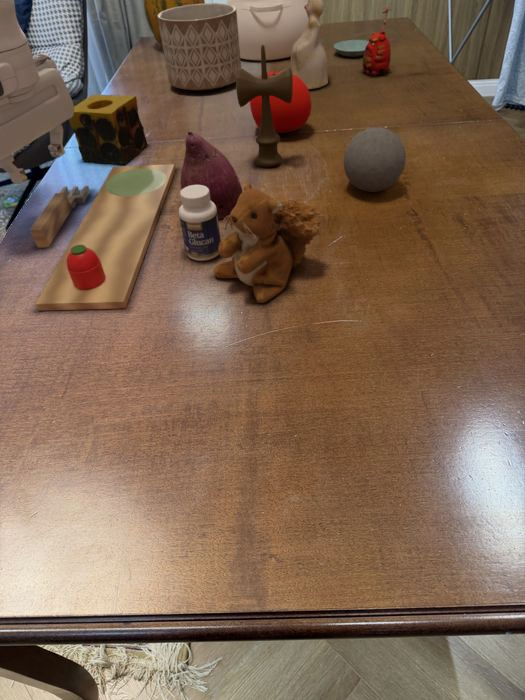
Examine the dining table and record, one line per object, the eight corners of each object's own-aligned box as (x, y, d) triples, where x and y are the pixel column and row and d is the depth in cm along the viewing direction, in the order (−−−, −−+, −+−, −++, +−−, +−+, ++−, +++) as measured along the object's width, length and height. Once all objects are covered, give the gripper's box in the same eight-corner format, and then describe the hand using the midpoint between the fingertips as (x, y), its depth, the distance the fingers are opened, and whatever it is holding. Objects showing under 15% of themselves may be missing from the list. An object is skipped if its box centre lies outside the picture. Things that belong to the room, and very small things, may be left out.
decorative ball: (413, 191, 85) (423, 131, 78) (366, 208, 82) (371, 147, 75) (376, 170, 91) (381, 113, 84) (330, 185, 88) (333, 127, 81)
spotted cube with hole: (148, 145, 106) (137, 95, 99) (125, 166, 100) (112, 113, 93) (106, 142, 109) (93, 93, 102) (81, 162, 102) (65, 110, 95)
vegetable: (210, 243, 83) (183, 169, 70) (175, 213, 88) (144, 140, 75) (258, 207, 85) (240, 130, 73) (222, 180, 90) (199, 104, 78)
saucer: (381, 56, 143) (381, 47, 142) (342, 61, 142) (342, 52, 140) (364, 46, 152) (364, 37, 150) (327, 51, 150) (327, 43, 148)
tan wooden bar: (58, 246, 79) (51, 229, 77) (27, 248, 79) (19, 230, 77) (91, 191, 92) (85, 175, 90) (64, 192, 93) (58, 176, 90)
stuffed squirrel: (208, 277, 71) (194, 189, 62) (286, 240, 76) (283, 155, 67) (250, 311, 65) (241, 219, 56) (331, 269, 70) (335, 179, 61)
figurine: (286, 78, 134) (284, -14, 120) (325, 75, 134) (327, -17, 120) (289, 92, 125) (287, -5, 112) (331, 89, 125) (334, -8, 111)
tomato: (295, 115, 114) (294, 59, 106) (319, 137, 104) (320, 76, 96) (243, 125, 111) (238, 68, 103) (263, 148, 102) (259, 86, 94)
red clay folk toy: (356, 71, 134) (361, 4, 124) (379, 66, 136) (385, 0, 126) (372, 78, 129) (378, 9, 119) (395, 73, 131) (403, 5, 121)
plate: (99, 204, 89) (97, 197, 88) (114, 175, 97) (113, 169, 96) (162, 201, 88) (160, 195, 87) (172, 173, 96) (171, 167, 95)
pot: (228, 42, 165) (222, -19, 153) (309, 37, 164) (309, -26, 152) (222, 68, 144) (215, -1, 133) (315, 61, 143) (315, -8, 132)
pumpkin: (141, 53, 161) (121, -45, 144) (171, 38, 174) (156, -54, 156) (191, 56, 155) (177, -46, 138) (219, 40, 168) (209, -56, 150)
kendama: (245, 157, 99) (235, 41, 85) (294, 156, 98) (292, 38, 84) (242, 171, 95) (231, 51, 81) (293, 169, 94) (291, 47, 80)
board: (38, 310, 68) (35, 303, 67) (114, 172, 98) (113, 166, 97) (125, 308, 67) (123, 301, 66) (175, 169, 97) (174, 163, 96)
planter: (255, 76, 137) (250, 4, 125) (218, 99, 125) (209, 22, 113) (195, 71, 144) (186, 2, 132) (155, 92, 132) (141, 18, 120)
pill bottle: (189, 265, 73) (178, 203, 66) (183, 246, 77) (171, 186, 70) (225, 257, 74) (217, 195, 67) (217, 239, 78) (209, 179, 71)
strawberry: (69, 290, 68) (56, 258, 65) (78, 271, 72) (67, 240, 68) (100, 289, 68) (89, 257, 65) (109, 270, 71) (98, 239, 68)
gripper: (32, 49, 77) (63, 140, 86) (-72, 94, 63) (-22, 196, 73) (67, 50, 75) (94, 143, 85) (-33, 96, 61) (13, 200, 71)
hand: (40, 168), depth 79 cm, fingers open, 8 cm apart
